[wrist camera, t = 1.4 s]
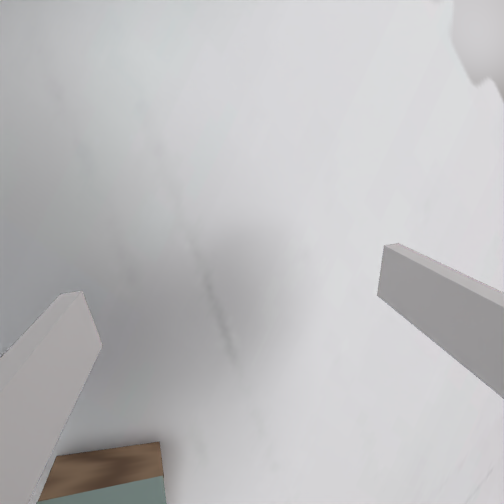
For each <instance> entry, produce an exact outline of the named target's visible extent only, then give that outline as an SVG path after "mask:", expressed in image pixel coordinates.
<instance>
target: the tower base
mask: <svg viewBox="0 0 504 504" xmlns="http://www.w3.org/2000/svg"><path fill="white" fill-rule="evenodd" d="M158 476H163V478H164V474H163V466H162V458H161V450H160V442H154V443H147V444H140V445H133V446H126V447H119V448H111V449H104V450H97V451H90V452H83V453H76V454H69V455H62V456H57V457H56V459H55V461H54V464H53V466H52V469H51V471H50V474H49V476H48V478H47V481H46V483H45V486H44V488H43V491H42V493H41V495H40V498H39V500H38V502H39V501H44V500H49V499H53V498H58V497H63V496H68V495H72V494H77V493H82V492H87V491H92V490H96V489H101V488H106V487H111V486H115V485H120V484H125V483H130V482H134V481H139V480H144V479H149V478H154V477H158Z"/></svg>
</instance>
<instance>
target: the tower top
mask: <svg viewBox="0 0 504 504" xmlns="http://www.w3.org/2000/svg"><path fill="white" fill-rule="evenodd" d="M36 504H166V496H165V488H164V479H163V476H158V477H154V478H149V479H144V480H139V481H134V482H130V483H125V484H120V485H115V486H111V487H106V488H101V489H96V490H92V491H87V492H82V493H77V494H72V495H68V496H63V497H58V498H53V499H49V500H44V501H39V502H37V503H36Z"/></svg>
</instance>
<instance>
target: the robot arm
mask: <svg viewBox="0 0 504 504" xmlns="http://www.w3.org/2000/svg"><path fill="white" fill-rule="evenodd" d="M377 296H378V297H379V298H381V299H382V300H383V301H384V302H386V303H387V304H388V305H389V306H390V307H392V308H393V309H394V310H395V311H397V312H398V313H399V314H400V315H402V316H403V317H404V318H405V319H406V320H408V321H409V322H410V323H411V324H413V325H414V326H415V327H416V328H417V329H419V330H420V331H421V332H422V333H424V334H425V335H426V336H427V337H429V338H430V339H431V340H432V341H433V342H435V343H436V344H437V345H438V346H440V347H441V348H442V349H443V350H444V351H446V352H447V353H448V354H449V355H451V356H452V357H453V358H454V359H456V360H457V361H458V362H459V363H460V364H462V365H463V366H464V367H465V368H467V369H468V370H469V371H470V372H471V373H473V374H474V375H475V376H476V377H478V378H479V379H480V380H481V381H483V382H484V383H485V384H486V385H487V386H489V387H490V388H491V389H492V390H494V391H495V392H496V393H497V394H498V395H500V396H501V397H502V398H503V399H504V293H503V292H501V291H499V290H497V289H495V288H493V287H491V286H489V285H486V284H484V283H482V282H480V281H478V280H476V279H474V278H471V277H469V276H467V275H465V274H463V273H461V272H459V271H457V270H454V269H452V268H450V267H448V266H446V265H444V264H442V263H440V262H437V261H435V260H433V259H431V258H429V257H427V256H425V255H422V254H420V253H418V252H416V251H414V250H412V249H410V248H408V247H405V246H403V245H401V244H399V243H397V244H390V245H384V249H383V256H382V263H381V271H380V278H379V285H378V292H377ZM102 346H103V344H102V342H101V339H100V336H99V334H98V331H97V328H96V326H95V323H94V320H93V318H92V315H91V312H90V310H89V307H88V304H87V302H86V299H85V296H84V294H83V291H76V292H69V293H62V294H60V295H59V296H58V297H57V298H56V299H55V300H54V302H53V303H52V304H51V305H50V306H49V307H48V308H47V309H46V310H45V311H44V312H43V313H42V314H41V315H40V317H39V318H38V319H37V320H36V321H35V322H34V323H33V324H32V325H31V326H30V327H29V328H28V329H27V330H26V332H25V333H24V334H23V335H22V336H21V337H20V338H19V339H18V340H17V341H16V342H15V343H14V344H13V345H12V347H11V348H10V349H9V350H8V351H7V352H6V353H5V354H4V355H3V356H2V357H1V358H0V504H28V502H29V500H30V498H31V496H32V494H33V492H34V490H35V487H36V485H37V483H38V481H39V479H40V477H41V475H42V473H43V471H44V468H45V466H46V464H47V462H48V460H49V458H50V456H51V454H52V452H53V450H54V447H55V445H56V443H57V441H58V439H59V437H60V435H61V433H62V431H63V428H64V426H65V424H66V422H67V420H68V418H69V416H70V414H71V412H72V410H73V407H74V405H75V403H76V401H77V399H78V397H79V395H80V393H81V391H82V389H83V386H84V384H85V382H86V380H87V378H88V376H89V374H90V372H91V370H92V367H93V365H94V363H95V361H96V359H97V357H98V355H99V353H100V351H101V349H102Z"/></svg>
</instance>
